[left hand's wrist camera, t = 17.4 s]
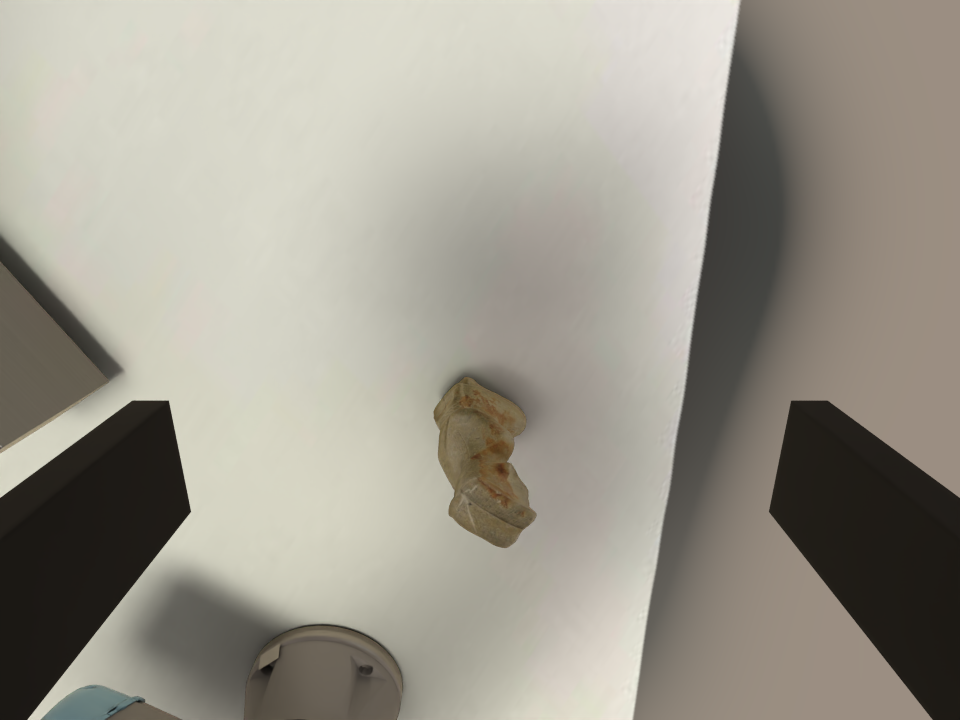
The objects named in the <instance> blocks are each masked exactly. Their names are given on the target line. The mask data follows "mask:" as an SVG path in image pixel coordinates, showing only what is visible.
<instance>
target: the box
mask: <svg viewBox="0 0 960 720" xmlns="http://www.w3.org/2000/svg"><path fill="white" fill-rule="evenodd" d="M108 382H109V380H108V379H107V378H106V377H105V376H104V374H103V373H102V372H101V371H100V370H99V369H98V368H97V367H96V366H95V365H94V363H93V362H92V361H91V360H90V359H89V358H88V357H87V356H86V355H85V354H84V353H83V351H82V350H81V349H80V348H79V347H78V346H77V345H76V344H75V343H74V342H73V340H72V339H71V338H70V337H69V336H68V335H67V334H66V333H65V332H64V331H63V330H62V328H61V327H60V326H59V325H58V324H57V323H56V322H55V321H54V320H53V319H52V317H51V316H50V315H49V314H48V313H47V312H46V311H45V310H44V309H43V308H42V306H41V305H40V304H39V303H38V302H37V301H36V300H35V299H34V298H33V297H32V296H31V294H30V293H29V292H28V291H27V290H26V289H25V288H24V287H23V286H22V285H21V283H20V282H19V281H18V280H17V279H16V278H15V277H14V276H13V275H12V274H11V273H10V271H9V270H8V269H7V268H6V267H5V266H4V265H3V264H2V263H1V262H0V453H2V452H3V451H5V450H6V449H8V448H10V447H11V446H13V445H14V444H16V443H18V442H19V441H21V440H22V439H24V438H26V437H27V436H29V435H30V434H32V433H33V432H35V431H37V430H38V429H40V428H41V427H43V426H45V425H46V424H48V423H49V422H51V421H53V420H54V419H56V418H57V417H58V416H60V415H61V414H63V413H64V412H66V411H67V410H69V409H70V408H72V407H73V406H75V405H76V404H77V403H79V402H80V401H82V400H83V399H85V398H86V397H88V396H89V395H91V394H92V393H94V392H95V391H96V390H98V389H99V388H101V387H102V386H104V385H105V384H107V383H108Z"/></svg>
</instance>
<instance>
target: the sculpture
mask: <svg viewBox="0 0 960 720" xmlns="http://www.w3.org/2000/svg"><path fill="white" fill-rule="evenodd" d="M434 419H435V422H436V424H437V426H438V428H439V430H440V435H439V447H438V458H439V462H440V464H441V466H442V468H443V470H444V472H445V474H446V476H447V478H448V480H449V482H450V484H451V485H452V487H453V489H454V490H455V492H454V498H453V499H452V501H451V503H450V506H449V516H450V517H452V518H453V519H454V520H455V521H456V522H457V523H458V524H459V525H460V526H462V527H463V528H464V529H466V530H468V531H469V532H471V533H473V534H475V535H477V536H479V537H481V538H483V539H484V540H486V541H488V542H490V543H491V544H493V545H495V546H498V547H502V548H507V547H509V546H511V545H512V544H513V543H515V542H516V540H517V539H518V537H519V535H520V533H521V532H522V530H524V529H525V528H526V527H527V526H529V525H530V524H531V523H532V522H533V521H534V520H535V518H536V513H535V512H534V511H533V510H532V509H531V508H530V507H529V500H528V489H527V488H526V486H525V485H524V483H523V482H522V481H521V480H520V478H519V477H518V475H517V473H516V471H515V469H514V467H513V465H512V464H511V463H508V462H507V461H508V459H509V457H510V456H511V454H512V452H513V450H514V439H513V438H514V437H516V436H517V435H520V434H521V432H522V431H523V430H524V429H525V427H526V417H525V415H524V413H523V412H522V410H521V409H520V408H519V407H518V406H517V405H515V404H514V403H513V402H511V401H509V400H508V399H506V398H504V397H502V396H500V395H498V394H496V393H494V392H492V391H490V390H488V389H486V388H484V387H482V386H480V385H479V384H478V383H476V381H475V380H474V379H472V378H469V377H465V378H463V379H462V380H461V381H460V382H459V383H457V384H455V385H454V386H453V387H452V388H451V389H450V390H449V391H448V392H447V393H446V394H445V396H444V397H443V398H442V399H441V400H440V402H439V403H438V405H437V406H436V408H435V410H434Z"/></svg>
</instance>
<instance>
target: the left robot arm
mask: <svg viewBox="0 0 960 720" xmlns="http://www.w3.org/2000/svg"><path fill="white" fill-rule="evenodd" d="M190 512H191V509H190V504H189V499H188V494H187V489H186V484H185V479H184V474H183V469H182V464H181V459H180V454H179V449H178V444H177V439H176V434H175V429H174V424H173V419H172V414H171V410H170V405H169V401H131V402H130V403H129V404H127V405H126V406H125V407H123V408H122V409H120V410H119V411H118V412H116V413H115V414H114V415H112V416H111V417H110V418H108V419H107V420H106V421H104V422H103V423H101V424H100V425H99V426H97V427H96V428H95V429H93V430H92V431H91V432H89V433H88V434H87V435H85V436H84V437H82V438H81V439H80V440H78V441H77V442H76V443H74V444H73V445H72V446H70V447H69V448H68V449H66V450H65V451H63V452H62V453H61V454H59V455H58V456H57V457H55V458H54V459H53V460H51V461H50V462H48V463H47V464H46V465H44V466H43V467H42V468H40V469H39V470H38V471H36V472H35V473H34V474H32V475H31V476H29V477H28V478H27V479H25V480H24V481H23V482H21V483H20V484H19V485H17V486H16V487H15V488H13V489H12V490H10V491H9V492H8V493H6V494H5V495H4V496H2V497H1V498H0V720H27V719H28V718H29V717H30V716H31V714H32V713H33V712H34V710H35V709H36V708H37V707H38V705H39V704H40V703H41V702H42V700H43V699H44V698H45V697H46V695H47V694H48V693H49V691H50V690H51V689H52V688H53V686H54V685H55V684H56V683H57V681H58V680H59V679H60V677H61V676H62V675H63V674H64V672H65V671H66V670H67V669H68V667H69V666H70V665H71V663H72V662H73V661H74V660H75V658H76V657H77V656H78V655H79V653H80V652H81V651H82V650H83V648H84V647H85V646H86V644H87V643H88V642H89V641H90V639H91V638H92V637H93V636H94V634H95V633H96V632H97V630H98V629H99V628H100V627H101V625H102V624H103V623H104V622H105V620H106V619H107V618H108V617H109V615H110V614H111V613H112V611H113V610H114V609H115V608H116V606H117V605H118V604H119V603H120V601H121V600H122V599H123V597H124V596H125V595H126V594H127V592H128V591H129V590H130V589H131V587H132V586H133V585H134V583H135V582H136V581H137V580H138V578H139V577H140V576H141V575H142V573H143V572H144V571H145V570H146V568H147V567H148V566H149V564H150V563H151V562H152V561H153V559H154V558H155V557H156V556H157V554H158V553H159V552H160V550H161V549H162V548H163V547H164V545H165V544H166V543H167V542H168V540H169V539H170V538H171V537H172V535H173V534H174V533H175V531H176V530H177V529H178V528H179V526H180V525H181V524H182V523H183V521H184V520H185V519H186V517H187V516H188V515H189V514H190ZM769 512H770V514H771V515H772V516H773V517H774V519H775V520H776V521H777V523H778V524H779V525H780V526H781V528H782V529H783V530H784V531H785V533H786V534H787V535H788V536H789V538H790V539H791V540H792V542H793V543H794V544H795V545H796V547H797V548H798V549H799V550H800V552H801V553H802V554H803V556H804V557H805V558H806V559H807V561H808V562H809V563H810V564H811V566H812V567H813V568H814V569H815V571H816V572H817V573H818V575H819V576H820V577H821V578H822V580H823V581H824V582H825V583H826V585H827V586H828V587H829V589H830V590H831V591H832V592H833V594H834V595H835V596H836V597H837V599H838V600H839V601H840V603H841V604H842V605H843V606H844V608H845V609H846V610H847V611H848V613H849V614H850V615H851V617H852V618H853V619H854V620H855V622H856V623H857V624H858V625H859V627H860V628H861V629H862V630H863V632H864V633H865V634H866V635H867V637H868V638H869V639H870V641H871V642H872V643H873V644H874V646H875V647H876V648H877V650H878V651H879V652H880V653H881V655H882V656H883V657H884V658H885V660H886V661H887V662H888V663H889V665H890V666H891V667H892V669H893V670H894V671H895V672H896V674H897V675H898V676H899V677H900V679H901V680H902V681H903V683H904V684H905V685H906V686H907V688H908V689H909V690H910V691H911V693H912V694H913V695H914V696H915V698H916V699H917V700H918V702H919V703H920V704H921V705H922V707H923V708H924V709H925V710H926V712H927V713H928V714H929V716H930V717H931V718H932V719H933V720H960V498H959V497H958V496H956V495H955V494H954V493H952V492H951V491H950V490H948V489H947V488H945V487H944V486H943V485H941V484H940V483H939V482H937V481H936V480H935V479H933V478H932V477H931V476H929V475H928V474H926V473H925V472H924V471H922V470H921V469H920V468H918V467H917V466H916V465H914V464H913V463H912V462H910V461H909V460H907V459H906V458H905V457H903V456H902V455H901V454H899V453H898V452H897V451H895V450H894V449H892V448H891V447H890V446H888V445H887V444H886V443H884V442H883V441H882V440H880V439H879V438H878V437H876V436H875V435H873V434H872V433H871V432H869V431H868V430H867V429H865V428H864V427H863V426H861V425H860V424H859V423H857V422H856V421H854V420H853V419H852V418H850V417H849V416H848V415H846V414H845V413H844V412H842V411H841V410H840V409H838V408H837V407H835V406H834V405H833V404H831V403H830V402H829V401H791V404H790V410H789V415H788V420H787V424H786V430H785V434H784V440H783V444H782V449H781V454H780V459H779V465H778V469H777V474H776V480H775V485H774V489H773V495H772V500H771V504H770V509H769ZM402 690H403V684H402V677H401V674H400V671H399V668H398V666H397V665H396V663H395V661H394V660H393V658H392V657H391V656H390V655H389V653H388V652H387V651H386V650H385V649H384V648H383V647H381V646H380V645H379V644H378V643H376V642H375V641H373V640H372V639H370V638H368V637H366V636H364V635H362V634H360V633H357V632H354V631H351V630H348V629H344V628H339V627H333V626H309V627H302V628H298V629H294V630H291V631H288V632H286V633H283V634H281V635H279V636H278V637H276V638H275V639H273V640H272V641H270V642H269V643H268V644H267V645H266V646H265V647H264V648H263V649H262V650H261V652H260V653H259V655H258V656H257V658H256V660H255V663H254V665H253V667H252V670H251V672H250V674H249V676H248V680H247V683H246V694H245V709H244V720H397V717H398V714H399V711H400V704H401V697H402ZM41 720H182V719H179V718H177V717H175V716H173V715H171V714H168V713H166V712H164V711H162V710H160V709H157V708H155V707H153V706H151V705H149V704H146V703H145V699H143V698H141V697H138V696H137V697H130V696H127V695H125V694H122V693H120V692H117V691H115V690H112V689H110V688H107V687H104V686H101V685H89V686H85V687H82V688H79V689H77V690H76V691H74V692H72V693H70V694H69V695H68V696H66V697H65V698H64V699H62V700H61V701H60V702H59V703H58V704H57V705H55V706H54V707H53V708H52V709H51V710H50V711H49V712H48V713H47V714H46V715H45V716H44V717H43V718H42V719H41Z"/></svg>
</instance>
